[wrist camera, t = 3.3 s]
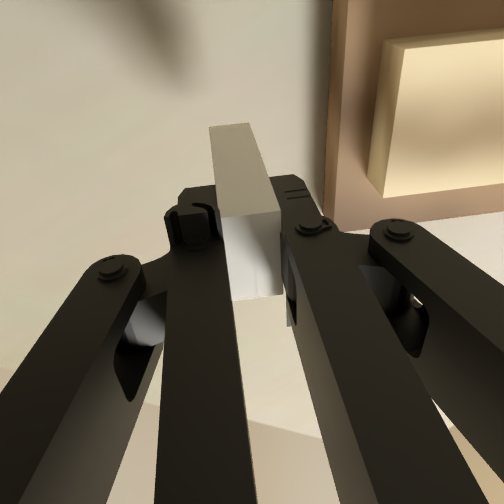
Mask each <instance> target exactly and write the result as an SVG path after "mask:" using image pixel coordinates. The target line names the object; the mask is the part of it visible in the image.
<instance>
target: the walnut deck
mask: <svg viewBox="0 0 504 504" xmlns="http://www.w3.org/2000/svg"><path fill="white" fill-rule="evenodd" d="M494 28H504V0H333V5H332V27H331V49H330V70H329V92H328V114H327V136H326V157H325V179H324V201H323V215H324V216H325V217H327V218H329V219H331V220H332V221H333V222H334V223H335V224H336V225H337V227H338V229H339V231H341V232H347V231H355V230H363V229H370V228H371V227H372V225H373V224H374V223H376V222H378V221H380V220H384V219H391V218H396V219H397V218H398V219H404V220H408V221H412V222H414V223H417V222H425V221H432V220H440V219H448V218H455V217H463V216H471V215H479V214H486V213H494V212H502V211H504V183H501V184H493V185H485V186H477V187H469V188H461V189H453V190H445V191H437V192H429V193H421V194H413V195H405V196H397V197H389V198H382V197H381V195H380V194H379V193H378V192H377V190H376V189H375V188H374V187H373V185H372V184H371V183H370V182H369V180H368V179H367V173H368V164H369V155H370V147H371V138H372V129H373V121H374V112H375V104H376V95H377V86H378V78H379V69H380V61H381V52H382V43H383V40H384V39H394V38H404V37H414V36H424V35H434V34H444V33H454V32H464V31H474V30H484V29H494Z"/></svg>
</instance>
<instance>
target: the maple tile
mask: <svg viewBox="0 0 504 504" xmlns="http://www.w3.org/2000/svg"><path fill="white" fill-rule="evenodd" d="M367 179H368V180H369V182H370V183H371V184H372V185H373V187H374V188H375V189H376V190H377V192H378V193H379V194H380V195H381V197H382V198H389V197H397V196H405V195H413V194H421V193H429V192H437V191H445V190H453V189H461V188H469V187H477V186H485V185H493V184H501V183H504V28H494V29H484V30H474V31H464V32H454V33H444V34H434V35H424V36H414V37H404V38H394V39H384V40H383V43H382V52H381V61H380V69H379V78H378V86H377V95H376V104H375V112H374V121H373V129H372V138H371V147H370V155H369V164H368V173H367Z"/></svg>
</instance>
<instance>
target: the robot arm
mask: <svg viewBox="0 0 504 504" xmlns="http://www.w3.org/2000/svg"><path fill="white" fill-rule="evenodd" d="M209 132H210V141H211V150H212V159H213V167H214V176H215V185H209V186H200V187H192V188H185V189H184V190H183V191H182V193H181V194H180V195H179V196H178V205H175V206H173V207H172V208H170V209H169V210H168V211H167V212H166V214H165V216H164V221H165V225H166V229H167V233H168V238H169V242H170V251H169V252H168V253H167V254H166V255H164V256H162V257H161V258H159V259H156V260H154V261H151V262H148V263H145V264H142V265H141V263H140V261H139V259H137V258H135V257H133V256H131V255H124V254H121V255H112V256H108V257H106V258H103V259H101V260H99V261H97V262H95V263H94V264H92V265H91V266H90V267H89V268H88V269H87V270H86V271H85V273H84V274H83V275H82V277H81V278H80V280H79V281H78V283H77V284H76V286H75V287H74V288H73V290H72V291H71V293H70V294H69V296H68V297H67V298H66V300H65V301H64V303H63V304H62V306H61V307H60V308H59V310H58V311H57V313H56V314H55V316H54V317H53V319H52V320H51V321H50V323H49V324H48V326H47V327H46V329H45V330H44V331H43V333H42V334H41V336H40V337H39V339H38V340H37V341H36V343H35V344H34V346H33V347H32V349H31V350H30V352H29V353H28V354H27V356H26V357H25V359H24V360H23V362H22V363H21V364H20V366H19V367H18V369H17V370H16V372H15V373H14V375H13V376H12V377H11V379H10V380H9V382H8V383H7V385H6V386H5V388H4V389H3V390H2V392H1V393H0V504H106V502H107V500H108V497H109V494H110V491H111V488H112V486H113V483H114V480H115V478H116V475H117V472H118V469H119V467H120V464H121V461H122V458H123V456H124V453H125V450H126V448H127V445H128V442H129V439H130V437H131V434H132V431H133V428H134V426H135V423H136V420H137V418H138V415H139V412H140V409H141V407H142V404H143V401H144V399H145V396H146V393H147V390H148V388H149V385H150V382H151V380H152V377H153V374H154V371H155V369H156V366H157V363H158V360H159V358H160V355H161V352H162V350H163V344H164V354H163V369H162V385H161V400H160V417H159V431H158V448H157V464H156V478H155V494H154V504H258V501H257V493H256V485H255V478H254V470H253V461H252V454H251V446H250V438H249V431H248V422H247V414H246V406H245V399H244V391H243V383H242V375H241V367H240V359H239V351H238V344H237V336H236V328H235V320H234V312H233V305H232V301H237V300H244V299H251V298H259V297H266V296H273V295H281V294H283V284H284V287H285V291H286V310H287V327H289V326H292V329H293V333H294V337H295V340H296V344H297V347H298V351H299V355H300V358H301V362H302V366H303V369H304V373H305V377H306V380H307V384H308V388H309V391H310V395H311V399H312V402H313V406H314V410H315V413H316V417H317V420H318V424H319V428H320V431H321V435H322V439H323V442H324V446H325V450H326V453H327V457H328V460H329V464H330V468H331V471H332V475H333V478H334V482H335V486H336V490H337V493H338V497H339V501H340V504H489V503H488V501H487V499H486V497H485V496H484V494H483V492H482V490H481V488H480V486H479V485H478V483H477V481H476V479H475V477H474V475H473V474H472V472H471V470H470V468H469V466H468V464H467V463H466V461H465V459H464V457H463V455H462V454H461V452H460V450H459V448H458V446H457V444H456V443H455V441H454V439H453V437H452V435H451V434H450V432H449V430H448V428H447V426H446V424H445V422H444V421H443V419H442V417H441V415H440V413H439V412H438V410H437V408H436V406H435V404H434V402H435V403H436V404H437V405H438V406H439V408H440V409H441V410H442V411H443V412H444V413H445V415H446V416H447V417H448V418H449V419H450V420H451V422H452V423H453V424H454V425H455V426H456V427H457V429H458V430H459V431H460V432H461V433H462V434H463V436H464V437H465V438H466V439H467V440H468V441H469V443H470V444H471V445H472V446H473V447H474V449H475V450H476V451H477V452H478V453H479V454H480V456H481V457H482V458H483V459H484V460H485V461H486V463H487V464H488V465H489V466H490V467H491V468H492V470H493V471H494V472H495V473H496V474H497V475H498V477H499V478H500V479H501V480H502V481H503V483H504V286H503V285H502V284H501V283H499V282H498V281H496V280H495V279H494V278H492V277H491V276H489V275H488V274H487V273H485V272H484V271H483V270H481V269H480V268H478V267H477V266H476V265H474V264H473V263H471V262H470V261H469V260H467V259H466V258H464V257H463V256H462V255H460V254H459V253H458V252H456V251H455V250H453V249H452V248H451V247H449V246H448V245H446V244H445V243H444V242H442V241H441V240H440V239H438V238H437V237H435V236H434V235H433V234H431V233H430V232H428V231H427V230H426V229H424V228H423V227H421V226H420V225H418V224H416V223H414V222H412V221H408V220H404V219H398V218H397V219H396V218H391V219H384V220H380V221H378V222H376V223H374V224H373V225H372V227H371V228H370V234H369V235H365V234H352V233H345V232H341V231H339V229H338V227H337V225H336V224H335V223H334V222H333V221H332V220H331V219H329V218H327V217H325V216H321V214H320V212H319V210H318V208H317V206H316V204H315V202H314V200H313V198H312V197H311V194H310V192H309V191H308V189H307V187H306V185H305V183H304V181H303V180H302V179H300V178H299V177H297V176H295V175H294V174H291V175H283V176H274V177H269V176H268V174H267V171H266V168H265V165H264V163H263V160H262V157H261V154H260V152H259V149H258V146H257V143H256V141H255V138H254V135H253V132H252V130H251V127H250V124H249V123H241V124H232V125H223V126H213V127H209ZM414 296H415V297H416V298H417V299H418V300H419V301H420V302H421V303H422V304H423V305H421V304H420V303H418V302H417V301H416V300H415V299H414ZM431 398H432V399H433V400H434V402H433V401H432V399H431Z"/></svg>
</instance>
